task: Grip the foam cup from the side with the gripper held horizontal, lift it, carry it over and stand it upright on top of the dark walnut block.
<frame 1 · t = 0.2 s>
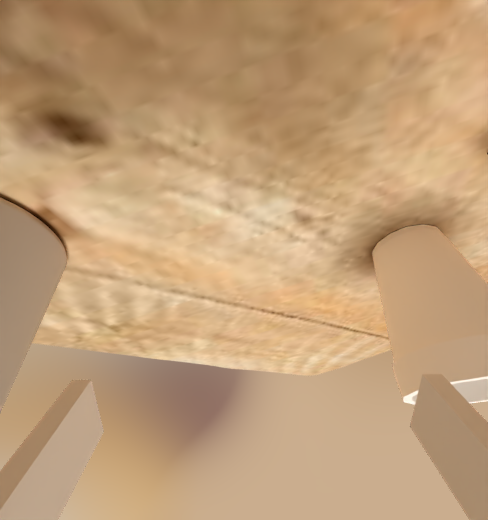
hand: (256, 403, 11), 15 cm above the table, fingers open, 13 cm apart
foam cup: (405, 245, 27), on the table
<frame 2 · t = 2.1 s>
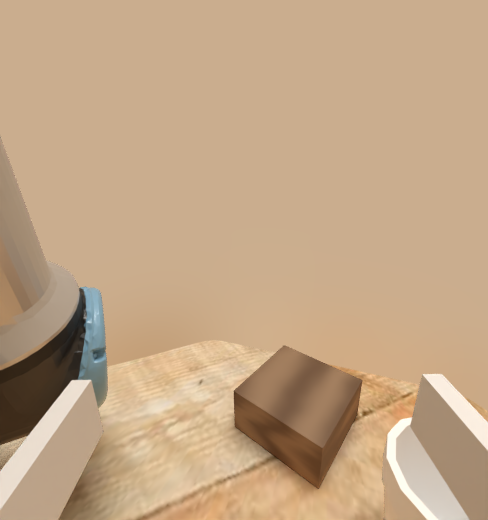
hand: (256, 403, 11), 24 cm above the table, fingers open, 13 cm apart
walnut block: (297, 420, 38), on the table
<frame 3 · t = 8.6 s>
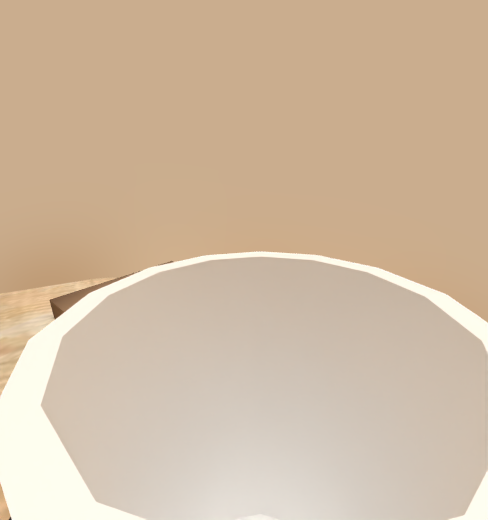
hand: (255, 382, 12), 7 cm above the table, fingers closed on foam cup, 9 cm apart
walnut block: (164, 354, 25), on the table
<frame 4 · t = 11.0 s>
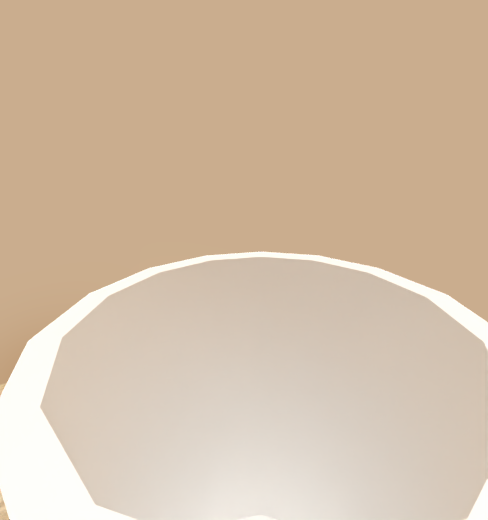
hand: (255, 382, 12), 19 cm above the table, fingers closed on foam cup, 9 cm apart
when the fingers open (15 cm above the table, at t = 13.8 s): foam cup drops 2 cm, resting on walnut block.
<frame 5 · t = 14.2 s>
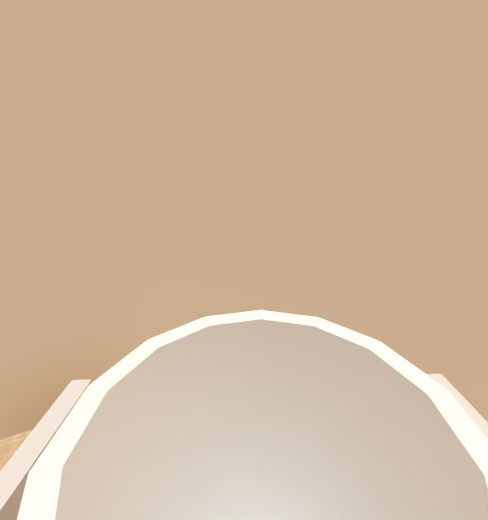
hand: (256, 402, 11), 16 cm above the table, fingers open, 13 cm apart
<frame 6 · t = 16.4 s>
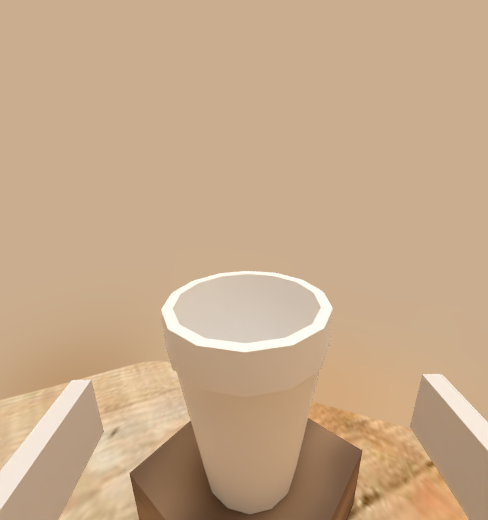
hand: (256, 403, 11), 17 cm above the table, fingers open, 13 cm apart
foam cup: (249, 464, 20), point 6 cm above the table, touching walnut block
walnut block: (250, 515, 22), on the table
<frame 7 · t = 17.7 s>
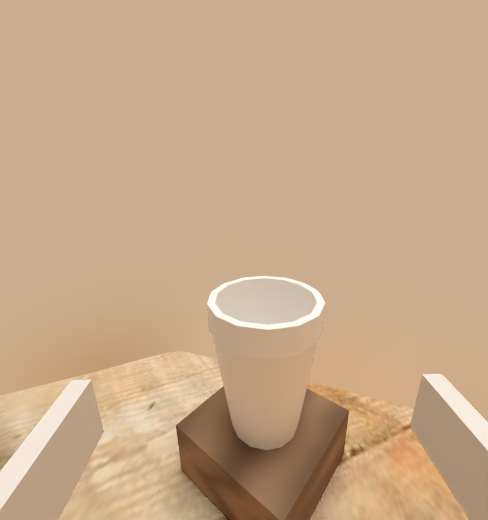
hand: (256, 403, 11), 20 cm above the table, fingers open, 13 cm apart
foam cup: (264, 420, 27), point 6 cm above the table, touching walnut block
walnut block: (264, 462, 29), on the table
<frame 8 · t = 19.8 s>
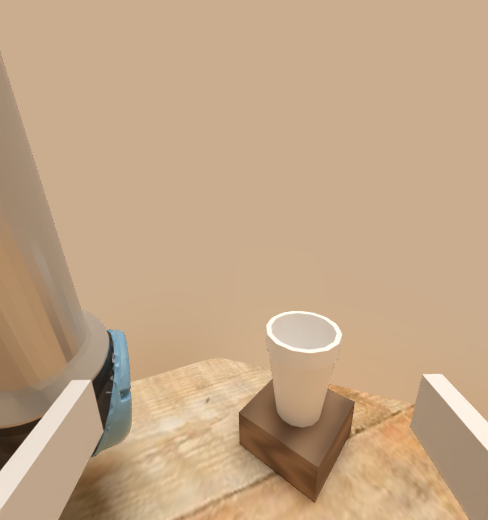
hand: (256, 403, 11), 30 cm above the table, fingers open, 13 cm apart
foam cup: (298, 408, 40), point 6 cm above the table, touching walnut block
walnut block: (295, 438, 42), on the table
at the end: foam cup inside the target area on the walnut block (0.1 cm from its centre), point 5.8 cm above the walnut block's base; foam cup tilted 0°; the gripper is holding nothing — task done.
